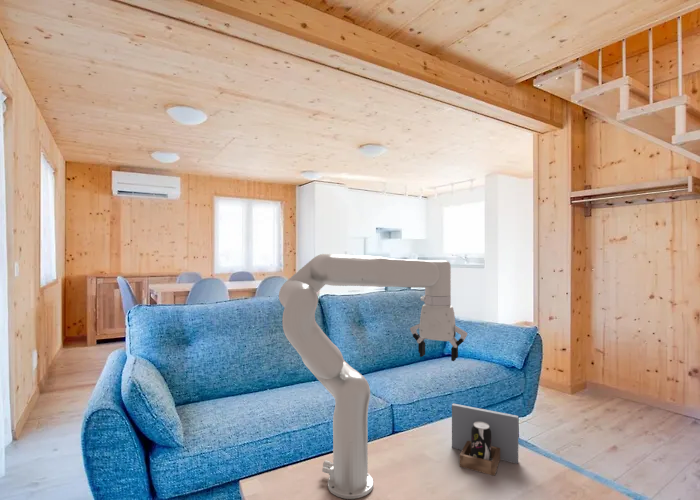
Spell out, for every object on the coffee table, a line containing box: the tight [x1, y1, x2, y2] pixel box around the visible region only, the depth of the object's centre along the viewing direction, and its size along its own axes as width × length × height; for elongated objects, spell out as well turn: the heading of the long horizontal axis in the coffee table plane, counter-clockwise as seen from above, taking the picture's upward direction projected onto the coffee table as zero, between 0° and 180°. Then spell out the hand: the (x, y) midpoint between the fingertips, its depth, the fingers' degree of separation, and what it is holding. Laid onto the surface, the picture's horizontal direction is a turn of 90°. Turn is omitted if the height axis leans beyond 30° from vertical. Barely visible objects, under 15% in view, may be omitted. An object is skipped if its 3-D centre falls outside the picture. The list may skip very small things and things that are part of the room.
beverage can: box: [470, 422, 492, 461], centre depth 120 cm, size 6×6×12 cm
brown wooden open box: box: [459, 441, 501, 477], centre depth 121 cm, size 10×10×4 cm
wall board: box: [451, 403, 519, 465], centre depth 126 cm, size 20×2×14 cm, turn 61°
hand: (437, 357), depth 120 cm, fingers open, 9 cm apart
